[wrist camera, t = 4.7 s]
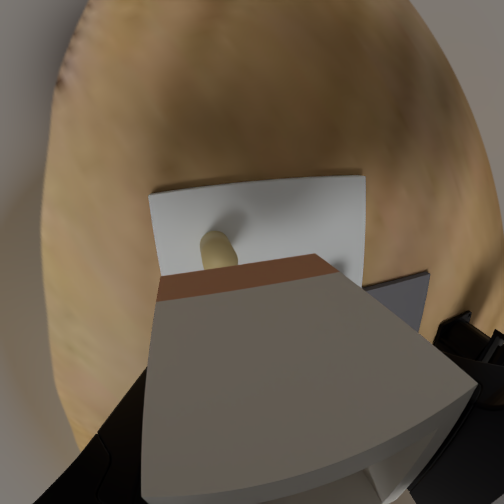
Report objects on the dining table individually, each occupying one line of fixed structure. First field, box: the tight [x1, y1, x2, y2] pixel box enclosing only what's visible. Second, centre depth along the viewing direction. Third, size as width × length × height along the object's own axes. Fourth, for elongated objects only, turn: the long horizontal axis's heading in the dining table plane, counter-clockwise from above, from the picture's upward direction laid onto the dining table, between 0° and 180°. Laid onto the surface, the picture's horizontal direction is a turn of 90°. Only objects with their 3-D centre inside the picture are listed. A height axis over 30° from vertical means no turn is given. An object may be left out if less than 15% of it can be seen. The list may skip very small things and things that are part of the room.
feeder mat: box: [362, 272, 430, 332], centre depth 24 cm, size 8×8×1 cm
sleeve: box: [141, 253, 478, 504], centre depth 6 cm, size 4×4×6 cm
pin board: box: [148, 175, 366, 288], centre depth 18 cm, size 14×11×4 cm
